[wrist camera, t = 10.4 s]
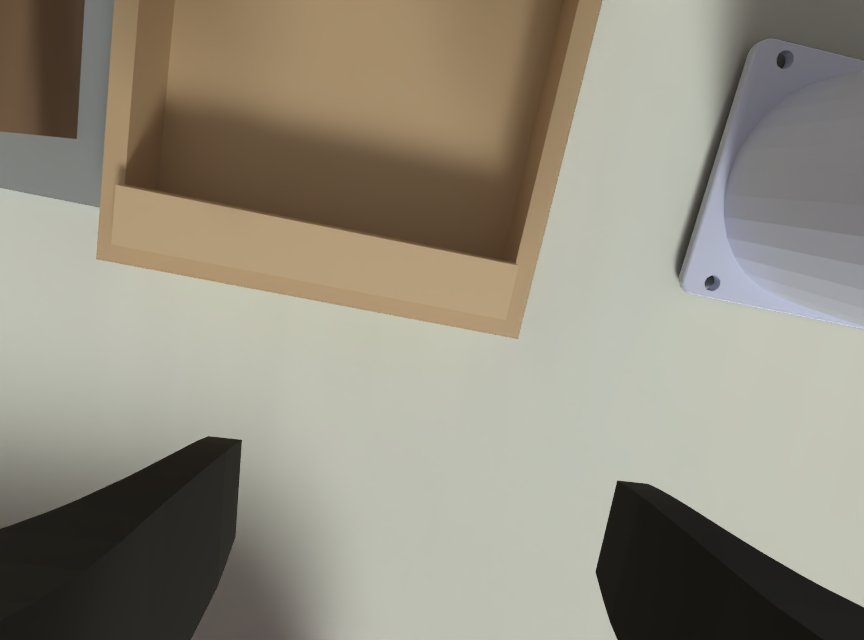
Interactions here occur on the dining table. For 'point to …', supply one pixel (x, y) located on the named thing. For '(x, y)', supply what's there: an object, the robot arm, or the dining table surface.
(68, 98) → the box
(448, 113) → the shallow wooden tray
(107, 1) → the mat
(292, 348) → the dining table surface
